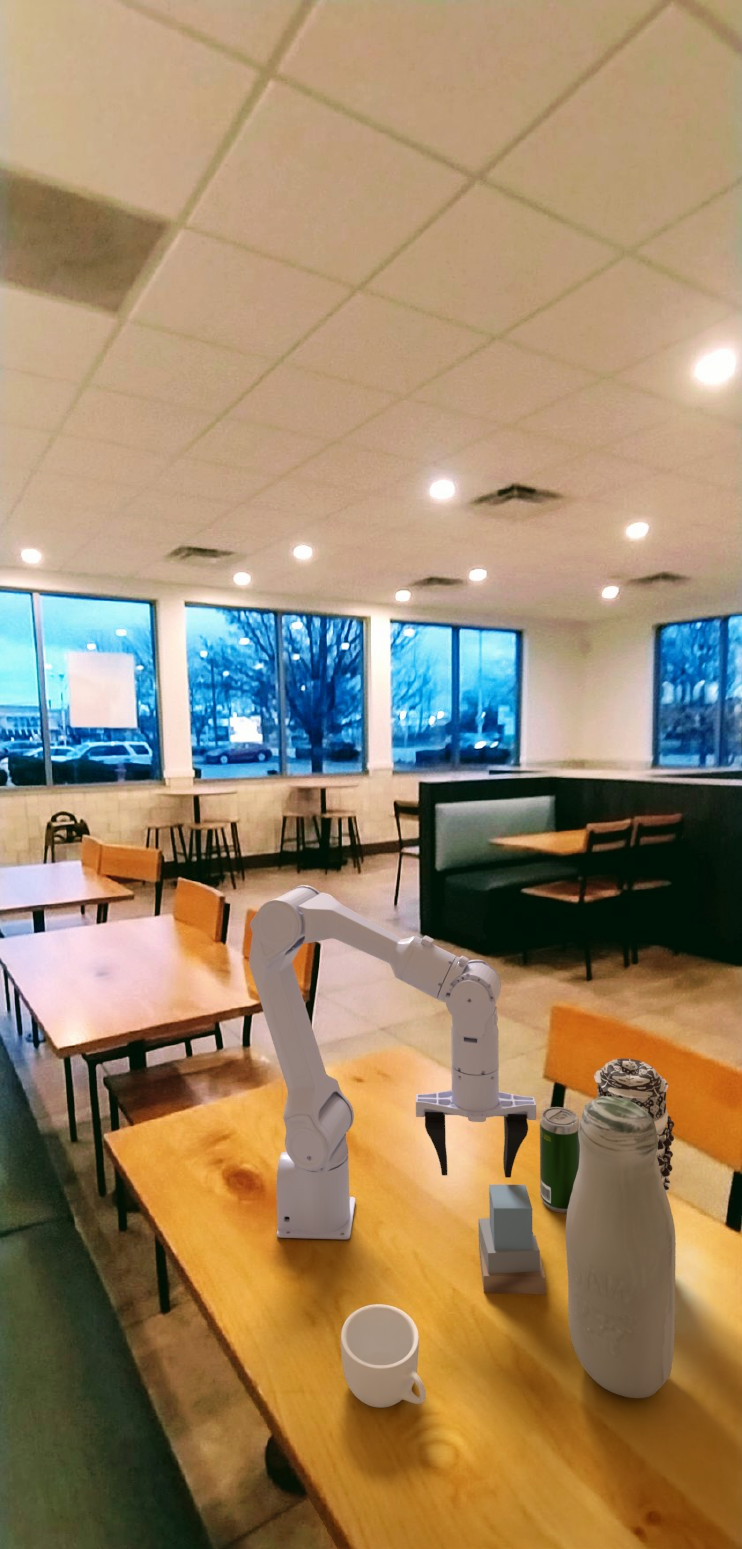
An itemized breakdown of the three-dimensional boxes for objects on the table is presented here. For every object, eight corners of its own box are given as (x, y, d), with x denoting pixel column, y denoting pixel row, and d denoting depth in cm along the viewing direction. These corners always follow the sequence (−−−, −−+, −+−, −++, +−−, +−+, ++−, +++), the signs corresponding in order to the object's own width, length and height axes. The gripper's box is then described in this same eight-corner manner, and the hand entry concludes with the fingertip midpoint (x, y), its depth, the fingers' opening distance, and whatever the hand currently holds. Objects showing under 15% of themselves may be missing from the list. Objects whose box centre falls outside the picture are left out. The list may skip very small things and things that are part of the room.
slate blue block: (494, 1249, 85) (493, 1208, 85) (489, 1223, 89) (489, 1184, 89) (532, 1249, 85) (532, 1208, 84) (526, 1224, 89) (525, 1184, 89)
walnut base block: (483, 1296, 84) (483, 1275, 84) (479, 1253, 91) (478, 1234, 91) (545, 1298, 84) (545, 1277, 84) (535, 1254, 91) (535, 1235, 91)
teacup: (326, 1383, 73) (324, 1332, 73) (382, 1339, 78) (381, 1291, 78) (394, 1456, 66) (393, 1400, 65) (452, 1403, 71) (451, 1350, 70)
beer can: (561, 1219, 96) (561, 1131, 96) (531, 1198, 101) (531, 1113, 100) (589, 1204, 99) (588, 1118, 98) (559, 1184, 104) (558, 1102, 103)
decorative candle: (676, 1312, 81) (676, 1092, 79) (588, 1292, 84) (587, 1080, 82) (672, 1255, 89) (672, 1056, 88) (593, 1239, 92) (592, 1046, 91)
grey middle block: (488, 1274, 84) (488, 1253, 84) (478, 1238, 90) (478, 1218, 90) (539, 1271, 85) (539, 1250, 84) (526, 1235, 91) (526, 1216, 90)
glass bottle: (682, 1360, 75) (683, 1093, 73) (662, 1443, 66) (662, 1144, 64) (585, 1319, 80) (583, 1071, 78) (554, 1392, 71) (552, 1114, 70)
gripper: (414, 1078, 86) (416, 1189, 87) (540, 1081, 85) (540, 1194, 86) (415, 1052, 93) (417, 1155, 94) (531, 1054, 92) (531, 1158, 93)
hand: (475, 1171), depth 90 cm, fingers open, 7 cm apart
